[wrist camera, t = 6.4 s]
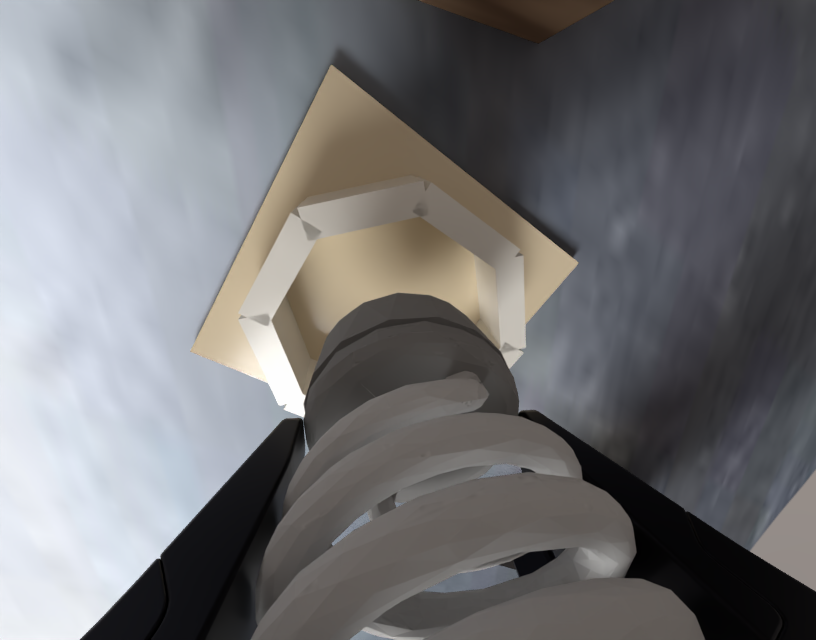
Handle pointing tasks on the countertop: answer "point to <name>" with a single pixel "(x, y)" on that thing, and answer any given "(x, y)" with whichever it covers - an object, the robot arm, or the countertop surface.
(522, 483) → the light bulb
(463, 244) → the socket
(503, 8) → the walnut block
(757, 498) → the countertop surface
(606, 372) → the countertop surface
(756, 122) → the countertop surface
